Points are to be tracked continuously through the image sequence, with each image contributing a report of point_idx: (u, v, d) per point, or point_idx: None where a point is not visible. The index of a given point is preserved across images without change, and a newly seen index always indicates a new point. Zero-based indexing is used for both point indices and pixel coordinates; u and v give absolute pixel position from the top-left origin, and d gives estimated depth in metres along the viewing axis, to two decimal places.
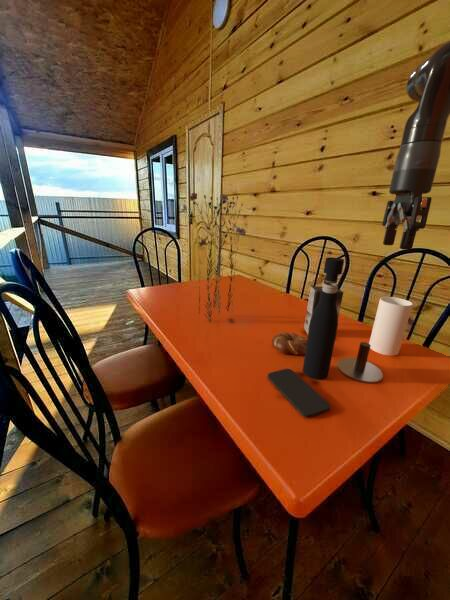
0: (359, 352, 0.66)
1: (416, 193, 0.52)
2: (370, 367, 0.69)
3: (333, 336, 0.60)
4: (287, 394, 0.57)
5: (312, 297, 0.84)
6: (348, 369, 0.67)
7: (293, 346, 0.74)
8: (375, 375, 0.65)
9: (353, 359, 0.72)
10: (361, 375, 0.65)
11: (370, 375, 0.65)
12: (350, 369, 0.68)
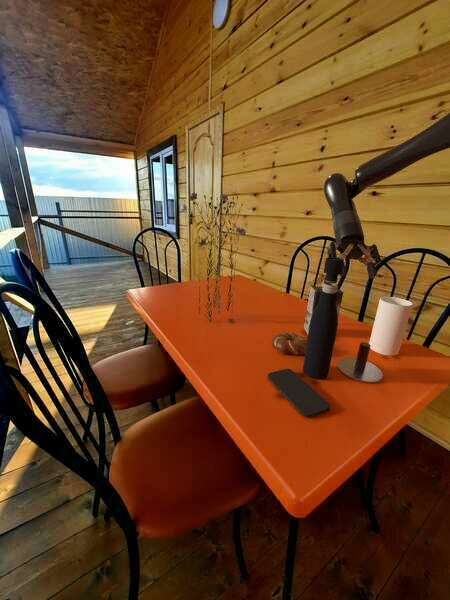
0: (359, 352, 0.66)
1: (338, 242, 0.75)
2: (370, 367, 0.69)
3: (333, 336, 0.60)
4: (287, 394, 0.57)
5: (312, 297, 0.84)
6: (348, 369, 0.67)
7: (293, 346, 0.74)
8: (375, 375, 0.65)
9: (353, 359, 0.72)
10: (361, 375, 0.65)
11: (370, 375, 0.65)
12: (350, 369, 0.68)
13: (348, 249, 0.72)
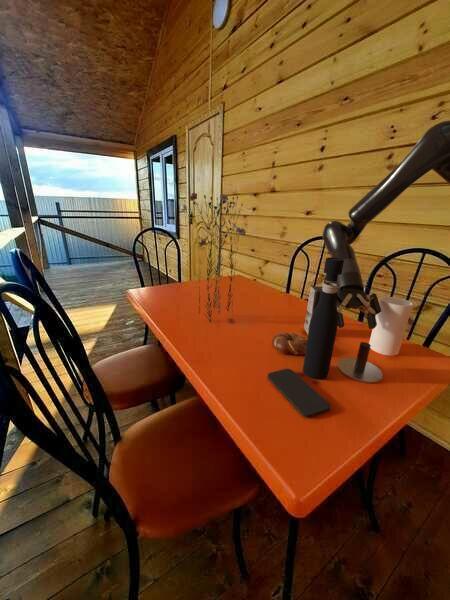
0: (359, 352, 0.66)
1: (337, 291, 0.75)
2: (370, 367, 0.69)
3: (333, 336, 0.60)
4: (287, 394, 0.57)
5: (312, 297, 0.84)
6: (348, 369, 0.67)
7: (293, 346, 0.74)
8: (375, 375, 0.65)
9: (353, 359, 0.72)
10: (361, 375, 0.65)
11: (370, 375, 0.65)
12: (350, 369, 0.68)
13: (346, 299, 0.72)
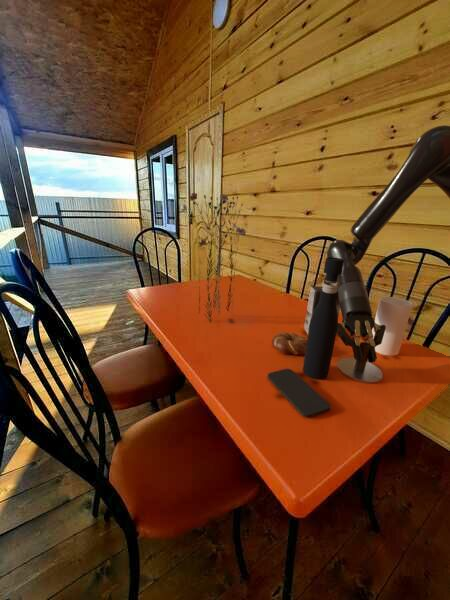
0: None
1: (343, 317, 0.70)
2: (370, 367, 0.69)
3: (333, 336, 0.60)
4: (287, 394, 0.57)
5: (312, 297, 0.84)
6: (349, 369, 0.67)
7: (293, 346, 0.74)
8: (375, 375, 0.65)
9: (353, 359, 0.72)
10: (361, 375, 0.65)
11: (370, 375, 0.65)
12: (350, 369, 0.68)
13: (357, 328, 0.67)
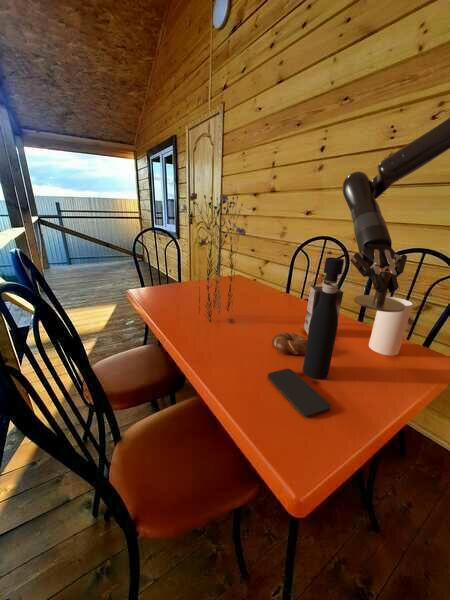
0: None
1: (360, 248, 0.66)
2: (390, 301, 0.64)
3: (333, 336, 0.60)
4: (287, 394, 0.57)
5: (312, 297, 0.84)
6: (367, 302, 0.63)
7: (293, 346, 0.74)
8: (397, 306, 0.61)
9: (371, 296, 0.68)
10: (381, 305, 0.61)
11: (391, 306, 0.60)
12: (369, 302, 0.63)
13: (376, 257, 0.62)
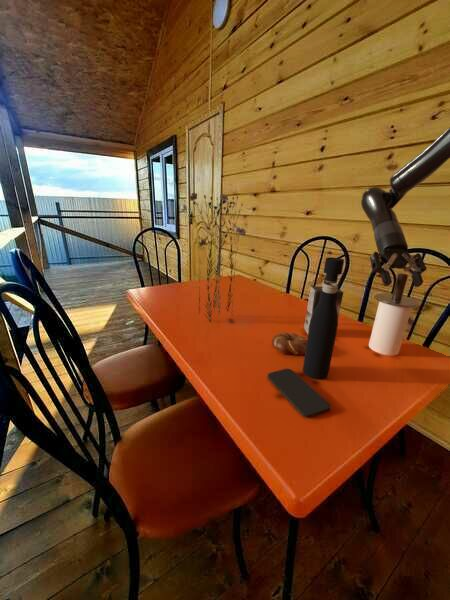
0: (397, 282, 0.73)
1: (380, 252, 0.77)
2: (406, 298, 0.75)
3: (333, 336, 0.60)
4: (287, 394, 0.57)
5: (312, 297, 0.84)
6: (387, 299, 0.74)
7: (293, 346, 0.74)
8: (412, 302, 0.72)
9: (388, 294, 0.79)
10: (399, 302, 0.72)
11: (407, 302, 0.72)
12: (388, 299, 0.74)
13: (392, 258, 0.73)
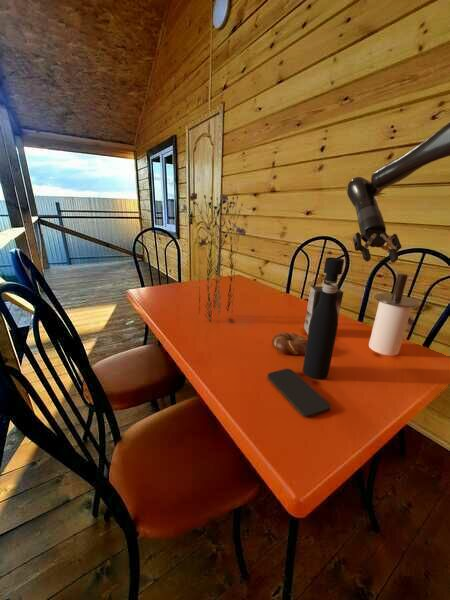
0: (397, 282, 0.73)
1: (362, 233, 0.87)
2: (406, 298, 0.75)
3: (333, 336, 0.60)
4: (287, 394, 0.57)
5: (312, 297, 0.84)
6: (387, 299, 0.74)
7: (293, 346, 0.74)
8: (412, 302, 0.72)
9: (388, 294, 0.79)
10: (399, 302, 0.72)
11: (407, 302, 0.72)
12: (388, 299, 0.74)
13: (372, 238, 0.84)
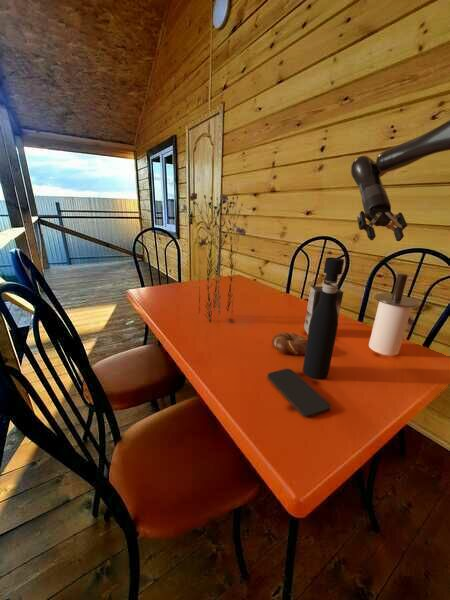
0: (397, 282, 0.73)
1: (367, 212, 0.85)
2: (406, 298, 0.75)
3: (333, 336, 0.60)
4: (287, 394, 0.57)
5: (312, 297, 0.84)
6: (387, 299, 0.74)
7: (293, 346, 0.74)
8: (412, 302, 0.72)
9: (388, 294, 0.79)
10: (399, 302, 0.72)
11: (407, 302, 0.72)
12: (388, 299, 0.74)
13: (376, 216, 0.82)
